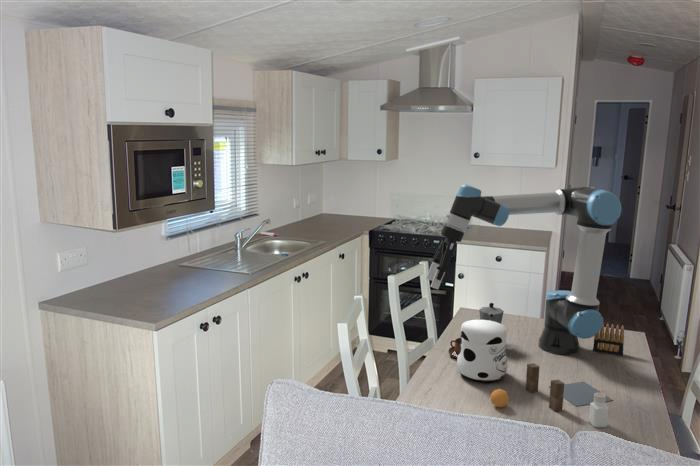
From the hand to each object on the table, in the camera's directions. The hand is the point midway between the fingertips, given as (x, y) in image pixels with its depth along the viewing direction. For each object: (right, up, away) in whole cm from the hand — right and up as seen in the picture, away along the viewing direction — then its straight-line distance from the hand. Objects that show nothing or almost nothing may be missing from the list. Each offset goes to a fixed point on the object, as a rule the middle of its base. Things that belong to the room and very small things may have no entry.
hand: (431, 283), depth 198 cm
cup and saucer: (+15, -30, +18) cm, 38 cm away
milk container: (+18, -33, +1) cm, 37 cm away
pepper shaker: (+44, -39, -32) cm, 67 cm away
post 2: (+35, -37, -23) cm, 56 cm away
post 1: (+32, -35, -11) cm, 48 cm away
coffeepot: (+28, -27, +29) cm, 48 cm away
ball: (+18, -34, -22) cm, 44 cm away
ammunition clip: (+72, -29, +21) cm, 80 cm away
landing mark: (+47, -35, -13) cm, 60 cm away
